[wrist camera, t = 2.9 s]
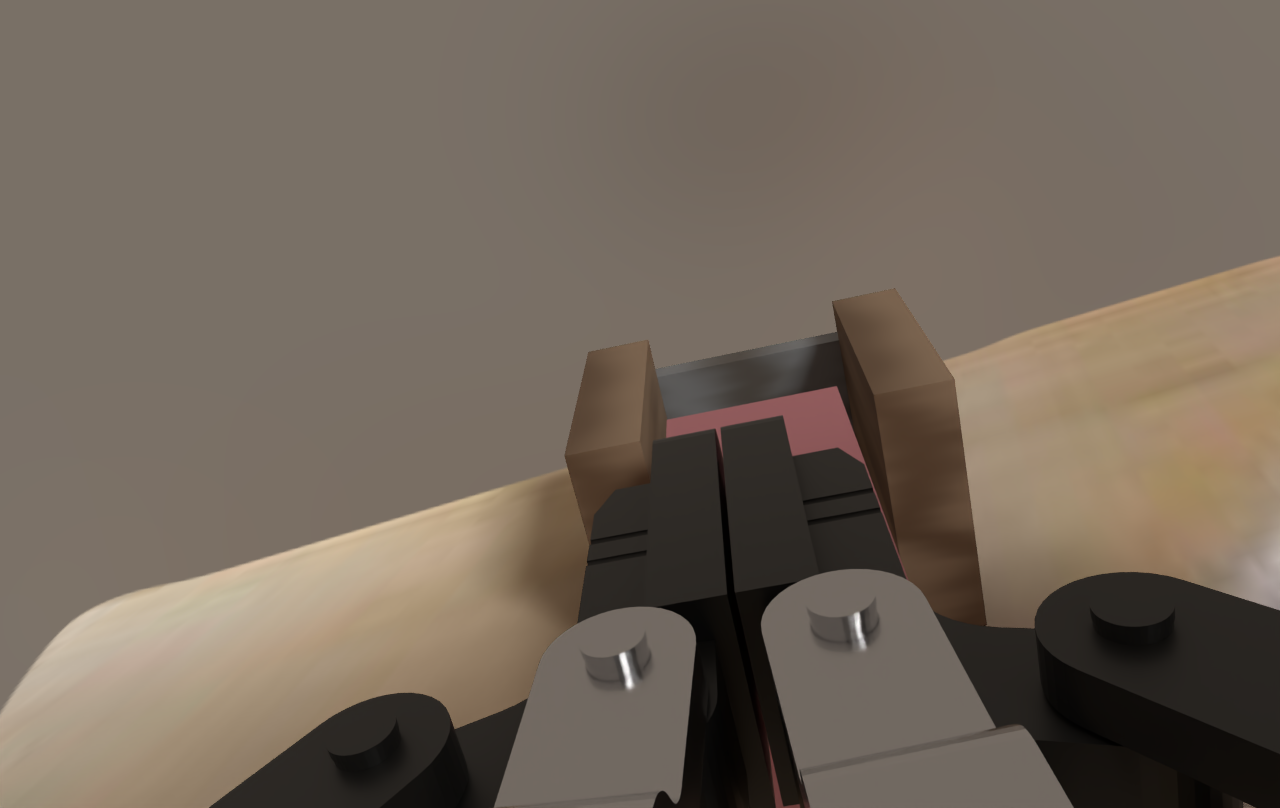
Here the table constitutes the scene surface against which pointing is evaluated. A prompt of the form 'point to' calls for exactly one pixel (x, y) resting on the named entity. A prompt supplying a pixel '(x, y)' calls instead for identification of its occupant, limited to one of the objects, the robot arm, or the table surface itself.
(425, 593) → the table surface
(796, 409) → the pink rectangular block
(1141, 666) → the robot arm
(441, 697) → the table surface
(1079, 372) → the table surface
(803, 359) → the shelf slot
